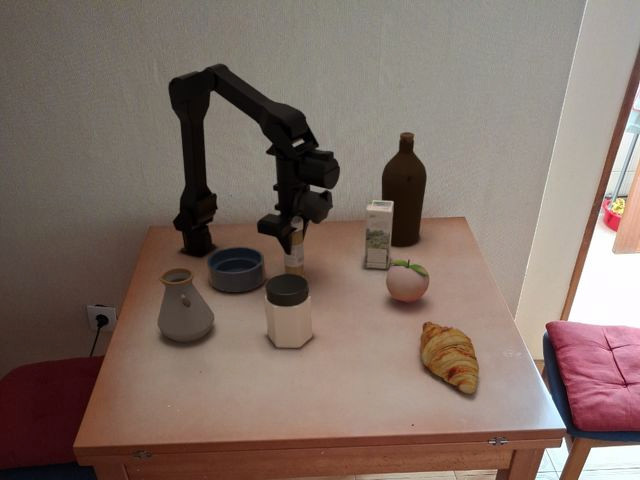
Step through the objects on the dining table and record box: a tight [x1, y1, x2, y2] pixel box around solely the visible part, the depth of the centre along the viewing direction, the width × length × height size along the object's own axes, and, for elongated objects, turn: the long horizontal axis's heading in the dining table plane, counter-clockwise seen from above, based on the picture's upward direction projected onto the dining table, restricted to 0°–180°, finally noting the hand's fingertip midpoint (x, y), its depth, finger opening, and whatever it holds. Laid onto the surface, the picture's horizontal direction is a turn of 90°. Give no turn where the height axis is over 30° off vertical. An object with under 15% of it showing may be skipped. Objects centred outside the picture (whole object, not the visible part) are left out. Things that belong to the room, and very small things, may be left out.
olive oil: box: [381, 131, 428, 247], centre depth 147 cm, size 11×11×25 cm
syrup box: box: [364, 199, 394, 271], centre depth 140 cm, size 6×6×14 cm
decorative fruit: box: [385, 259, 430, 303], centre depth 129 cm, size 9×8×10 cm
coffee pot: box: [157, 267, 215, 343], centre depth 117 cm, size 21×12×15 cm, turn 18°
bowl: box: [206, 246, 267, 293], centre depth 139 cm, size 13×13×5 cm
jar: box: [264, 273, 313, 349], centre depth 119 cm, size 9×8×12 cm
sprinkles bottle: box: [283, 216, 305, 278], centre depth 135 cm, size 5×5×14 cm
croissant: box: [419, 321, 480, 394], centre depth 113 cm, size 21×10×8 cm, turn 16°
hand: (294, 250), depth 135 cm, fingers closed on sprinkles bottle, 4 cm apart
